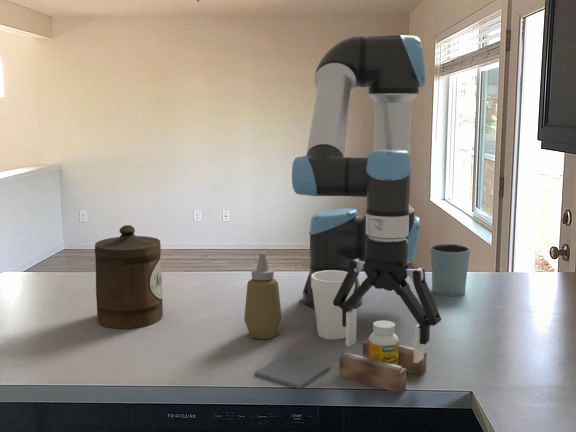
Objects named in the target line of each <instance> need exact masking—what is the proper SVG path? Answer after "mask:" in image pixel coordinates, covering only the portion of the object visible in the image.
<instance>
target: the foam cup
mask: <svg viewBox="0 0 576 432" xmlns="http://www.w3.org/2000/svg"><path fill="white" fill-rule="evenodd" d="M347 273H348V272H345V271H337V270H325V271H319V272H315V273H313V274H312V276H311V288H312V291H313V299H314V307H315V308H314V307H313V308H314V314H315V319H316V320H315V322H316V329H317V330H316V331H317V335H318V336H319V337H320V338H322V339H326V340H340V339H344V338H346V327H343V325H342V309H341V308H340V307H338V306H334V304H333V301H334V299H335V297H336V295H337V293H338V291H339V289H340V287H341V285H342V283H343V281H344V279H345V277H346V275H347ZM354 289H355V282H354V284H353V286H352V288H351V290H350V292H349V294H348V296H347V298H346V301H347V300H348V298H349V297H350V296H351V295H352V294H353V292H354Z"/></svg>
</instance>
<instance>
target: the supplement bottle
mask: <svg viewBox="0 0 576 432" xmlns="http://www.w3.org/2000/svg"><path fill="white" fill-rule="evenodd" d="M372 330H373V332H372V333H370V335H369V337H368V338H369V358H371V359H375V360H379V361H383V362H387V363H391V364H394V365H398V348H399V345H400V343H399V342H400V339H399V337H398V335H397V334H396V333H395V332H396V323H395V322H393V321H390V320H382V319H381V320H376V321H374V322H373V323H372Z"/></svg>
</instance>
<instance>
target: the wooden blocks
mask: <svg viewBox="0 0 576 432" xmlns="http://www.w3.org/2000/svg"><path fill="white" fill-rule="evenodd" d="M427 358H428V357H427V351H424V358H423V359H422V360H421V361H420V362H418V363H415V362H414V347H412V346H411V347H410V346H407V345H402V344H399V348H398V365H394V364H391V363H387V362H383V361H379V360H375V359H371V358H369V337H368V338H366V340H364V341H363V342H362V355H359V354H354V353H350V352H348V351H347V352H345V353H344V354H343V355H341V356H340V357H338V359H339V360H338V361H339V364H338V365H339V366H338V367H339V368H338V369H339V371H338V372H339V373H338V375H339V377H341V378H344V379H348V380H352V381H355V382H358V383H362V384H365V385H369V386H372V387H375V388H379V389H383V390H386V391H390V392H394V393H396V394H401V393H403V392H404V390H406V388H407V373H410V374H414V375H418V376H422V375H423V374H424V373H425V372H426V371H427Z"/></svg>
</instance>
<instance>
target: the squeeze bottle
mask: <svg viewBox="0 0 576 432" xmlns="http://www.w3.org/2000/svg"><path fill="white" fill-rule="evenodd" d="M268 263H269V262H268V259H267V255H266V253H265V252H261V253H259V257H258V261H257V265H256V268H254V269H252V270H251V278H250V279H249V280H248V281H247V286H246V293H245V294H246V295H245V307H244V318H243V319H244V323H245V326H246V328H247V332H248V334H249V336H250V337H251V338H253V339H258V340H259V339H260V340H266V339H272V338H274V337H276V336H277V333H278V330H279V329H280V324H281V323H282V319H283V317H282V316H283V315H282V308H281V307H282V305H281V299H280V298H281V297H280V288H279V287H280V286H279V282H278V281H277V280H276V279H275V278H274V274H275V273H274V271H275V270H274V269H272V268H270V267H269V264H268Z"/></svg>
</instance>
